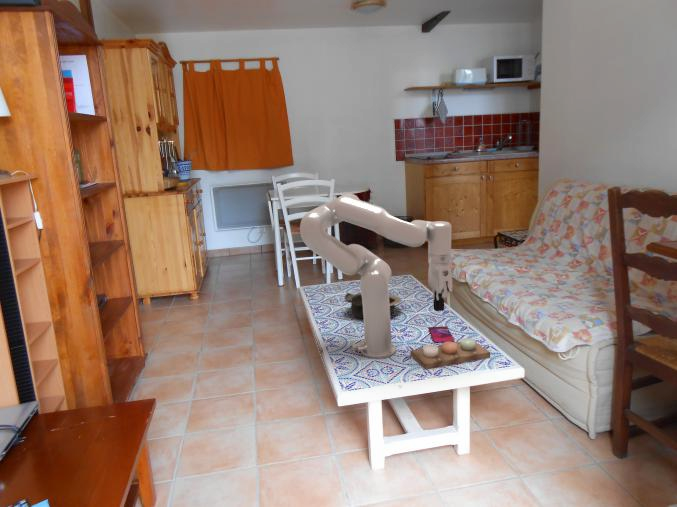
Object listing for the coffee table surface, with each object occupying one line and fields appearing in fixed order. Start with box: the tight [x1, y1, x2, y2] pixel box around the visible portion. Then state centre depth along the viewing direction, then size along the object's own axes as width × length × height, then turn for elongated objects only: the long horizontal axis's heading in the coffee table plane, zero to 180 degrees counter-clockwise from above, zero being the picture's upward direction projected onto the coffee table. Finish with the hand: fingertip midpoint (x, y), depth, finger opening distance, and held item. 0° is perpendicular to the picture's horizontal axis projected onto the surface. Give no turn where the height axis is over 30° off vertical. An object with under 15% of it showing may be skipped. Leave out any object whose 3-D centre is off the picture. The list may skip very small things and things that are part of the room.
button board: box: [410, 341, 491, 371], centre depth 174 cm, size 24×12×2 cm, turn 105°
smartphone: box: [428, 325, 455, 344], centre depth 194 cm, size 8×1×15 cm
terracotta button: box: [441, 341, 457, 354], centre depth 174 cm, size 5×5×2 cm
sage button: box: [459, 337, 476, 350], centre depth 175 cm, size 5×5×2 cm
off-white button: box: [422, 344, 439, 357], centre depth 172 cm, size 5×5×2 cm
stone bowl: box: [344, 292, 403, 319], centre depth 222 cm, size 25×25×9 cm
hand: (438, 309), depth 174 cm, fingers closed
